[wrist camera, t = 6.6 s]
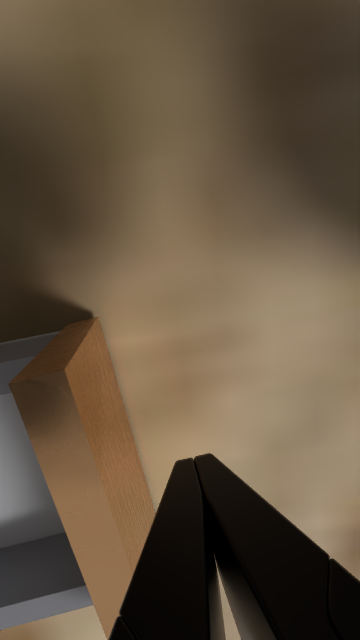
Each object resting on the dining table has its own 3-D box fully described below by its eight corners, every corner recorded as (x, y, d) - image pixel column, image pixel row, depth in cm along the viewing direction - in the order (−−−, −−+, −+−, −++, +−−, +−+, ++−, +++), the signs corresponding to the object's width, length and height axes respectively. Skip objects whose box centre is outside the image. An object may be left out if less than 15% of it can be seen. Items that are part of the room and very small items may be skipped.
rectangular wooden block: (166, 537, 15) (181, 700, 9) (133, 546, 15) (130, 717, 9) (103, 315, 12) (73, 368, 7) (62, 325, 12) (-2, 386, 7)
